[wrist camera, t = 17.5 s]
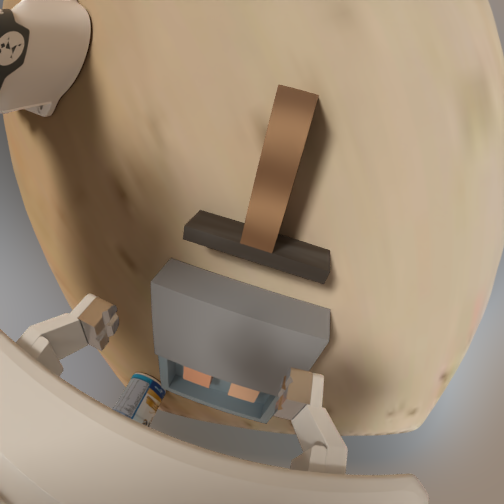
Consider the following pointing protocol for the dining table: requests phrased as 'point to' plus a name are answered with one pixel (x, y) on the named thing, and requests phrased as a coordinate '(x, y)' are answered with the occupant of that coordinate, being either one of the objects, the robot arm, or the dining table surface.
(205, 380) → the tile
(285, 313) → the grey slab
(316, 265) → the wooden t-shaped pusher
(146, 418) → the beverage bottle
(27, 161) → the dining table surface
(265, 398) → the box
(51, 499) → the robot arm
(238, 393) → the tile
